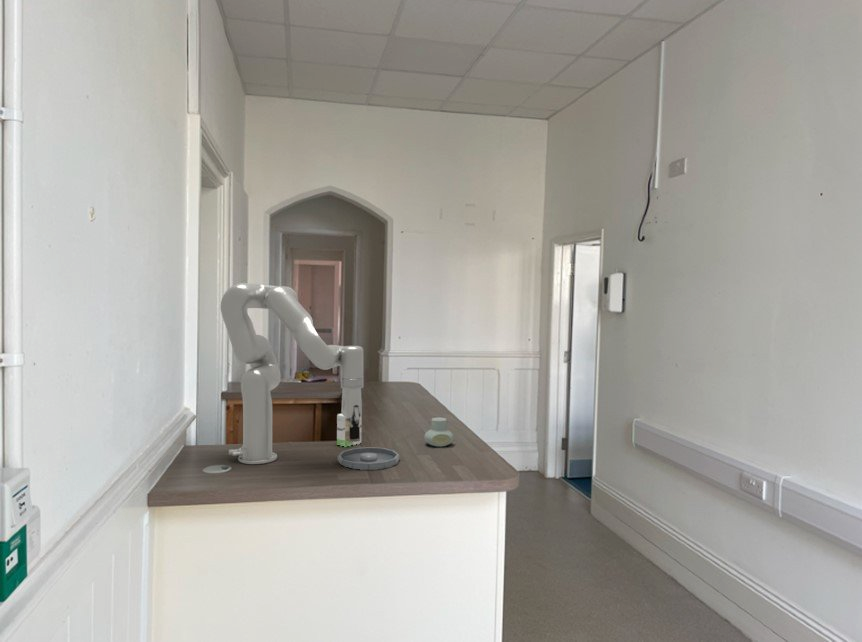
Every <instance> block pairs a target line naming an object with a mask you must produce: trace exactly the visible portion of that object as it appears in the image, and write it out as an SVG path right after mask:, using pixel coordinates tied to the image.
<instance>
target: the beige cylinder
mask: <svg viewBox="0 0 862 642" xmlns="http://www.w3.org/2000/svg"><path fill="white" fill-rule="evenodd" d="M350 427H351V425H350V418H349V419H345V441H347V442H357V441H360V438H359V439H350ZM359 437H360V420H359Z"/></svg>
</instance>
